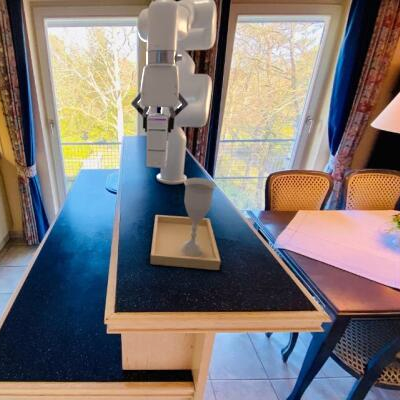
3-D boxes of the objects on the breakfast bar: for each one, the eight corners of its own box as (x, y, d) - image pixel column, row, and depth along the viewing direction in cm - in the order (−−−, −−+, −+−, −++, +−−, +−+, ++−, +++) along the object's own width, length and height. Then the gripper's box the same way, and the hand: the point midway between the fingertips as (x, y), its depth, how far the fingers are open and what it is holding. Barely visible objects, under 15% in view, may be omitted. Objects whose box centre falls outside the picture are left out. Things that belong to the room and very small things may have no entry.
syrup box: (165, 168, 76) (169, 116, 70) (145, 166, 77) (147, 115, 71) (167, 162, 81) (170, 113, 75) (148, 161, 82) (150, 112, 76)
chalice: (172, 245, 68) (177, 180, 60) (194, 240, 70) (202, 176, 62) (188, 262, 62) (196, 192, 54) (212, 255, 64) (223, 187, 56)
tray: (155, 222, 80) (155, 214, 79) (208, 226, 78) (209, 218, 76) (150, 264, 62) (150, 255, 61) (218, 270, 60) (220, 261, 59)
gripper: (194, 60, 70) (188, 130, 77) (130, 61, 72) (130, 128, 80) (196, 58, 63) (189, 135, 71) (125, 59, 66) (126, 133, 73)
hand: (158, 131), depth 75 cm, fingers closed on syrup box, 5 cm apart
